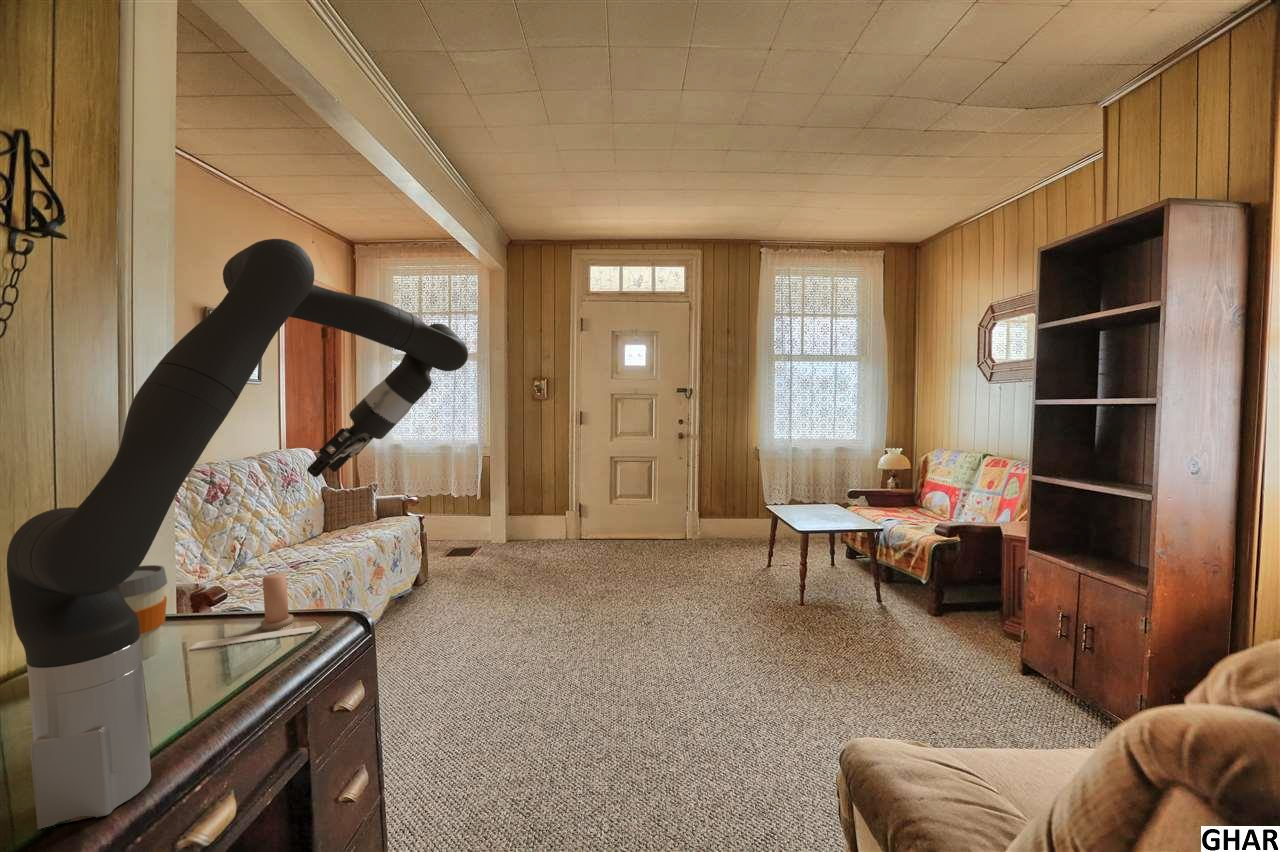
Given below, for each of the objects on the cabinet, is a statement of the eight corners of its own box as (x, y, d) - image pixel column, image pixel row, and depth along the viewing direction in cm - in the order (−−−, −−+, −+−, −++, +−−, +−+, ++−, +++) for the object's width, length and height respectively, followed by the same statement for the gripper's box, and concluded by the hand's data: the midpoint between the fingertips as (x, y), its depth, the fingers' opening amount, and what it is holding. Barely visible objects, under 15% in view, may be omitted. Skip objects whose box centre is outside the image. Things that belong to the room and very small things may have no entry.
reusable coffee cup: (159, 663, 99) (153, 578, 99) (64, 680, 94) (56, 591, 93) (181, 636, 111) (175, 561, 110) (96, 651, 105) (90, 571, 105)
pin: (289, 628, 113) (286, 578, 113) (257, 632, 111) (253, 582, 111) (296, 618, 119) (293, 571, 118) (265, 622, 117) (262, 574, 116)
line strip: (313, 632, 110) (312, 631, 110) (190, 650, 104) (190, 648, 104) (316, 627, 113) (316, 625, 113) (197, 644, 107) (196, 642, 107)
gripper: (379, 396, 115) (321, 454, 114) (353, 394, 101) (287, 461, 100) (407, 421, 116) (350, 480, 115) (386, 423, 102) (320, 489, 101)
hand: (321, 471), depth 107 cm, fingers open, 8 cm apart
